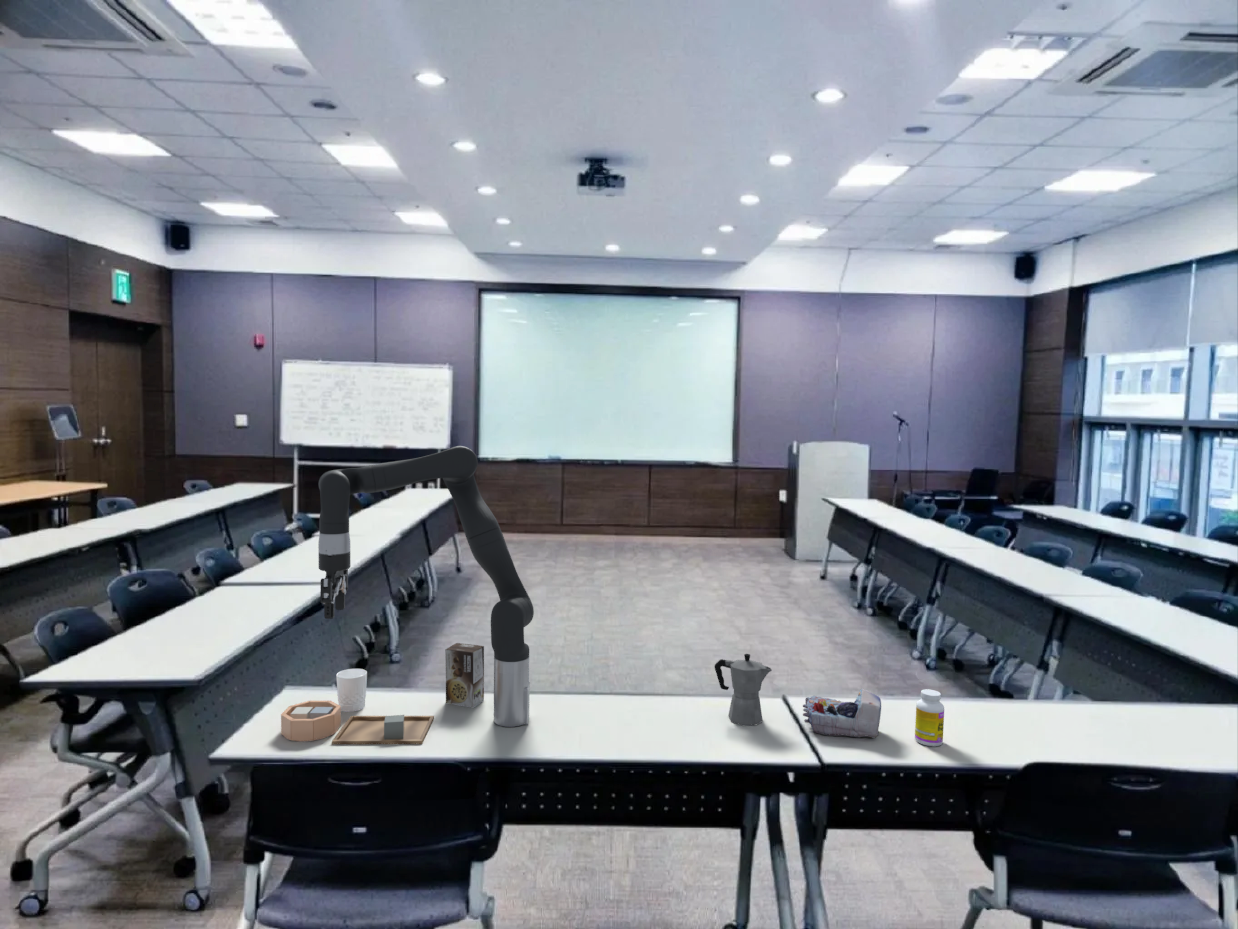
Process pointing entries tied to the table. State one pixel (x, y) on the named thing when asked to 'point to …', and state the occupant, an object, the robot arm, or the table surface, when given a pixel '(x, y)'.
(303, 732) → the terracotta bowl
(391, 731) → the medium grey cube
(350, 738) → the walnut tray
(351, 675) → the white cup
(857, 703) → the cell model
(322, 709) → the pale blue cube
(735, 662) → the coffeepot
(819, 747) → the table surface
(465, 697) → the coffee box
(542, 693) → the table surface
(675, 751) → the table surface
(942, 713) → the supplement bottle
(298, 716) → the pale grey cube
